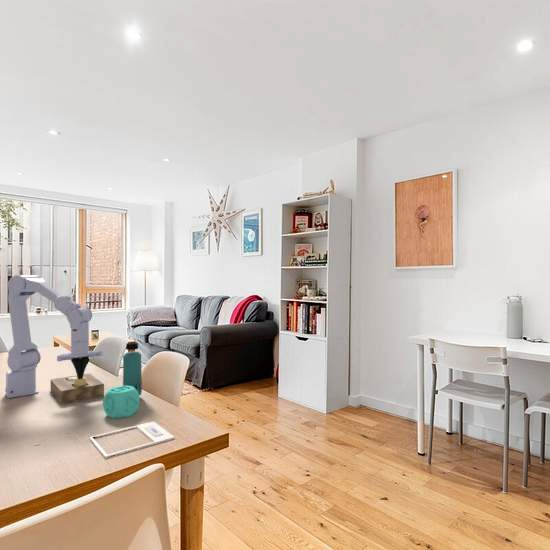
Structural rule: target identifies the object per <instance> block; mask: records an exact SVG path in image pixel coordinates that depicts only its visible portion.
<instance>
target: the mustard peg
mask: <svg viewBox="0 0 550 550" xmlns="http://www.w3.org/2000/svg"><path fill="white" fill-rule="evenodd" d="M85 385H86V377H83V379H78V378H74V387H79V386H85Z"/></svg>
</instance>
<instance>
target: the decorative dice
mask: <svg viewBox="0 0 550 550" xmlns="http://www.w3.org/2000/svg"><path fill="white" fill-rule="evenodd" d="M140 399H141V398H140V395H139V394H138V392H137V390H136V389H135V388H134V387H132V386H123V385H119V386H118V385H117V386H115V387H110V388H109V389H108V390H107V391H106V392H105V393H104V396H103V399H102V408H103V411H104V413H105V414H106V415H107V417H108V418H110V417H111V418H110V419H124V418H123V417H125V418H128V416H129V417H131V416H133V415H134V414H135V413H136V412H137V410H138V408H139V406H140V401H141V400H140Z"/></svg>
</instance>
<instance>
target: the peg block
mask: <svg viewBox="0 0 550 550" xmlns="http://www.w3.org/2000/svg"><path fill="white" fill-rule="evenodd" d="M71 377H77V375H71V376H64V377H59V378H51V379H50V392H51V394H52V393H53V394H52V395H53V396H54V398H56V400H57V401H58V402H59V403H60V405H63V404H69V403H74V402H80V401H86V400H90V399H91V400H92V399H95V398H101V396H102V397H104V396H105V383H103V382H102V381H101V380H100V379H98V378H97V377H95V376H94V375H92V373H84V375H83V377H86V385H85V386H79V387H74V380H73V381H68V378H71Z"/></svg>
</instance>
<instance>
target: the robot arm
mask: <svg viewBox="0 0 550 550" xmlns="http://www.w3.org/2000/svg"><path fill="white" fill-rule="evenodd" d="M7 289H8V294H7V301H8V308H9V315H10V322H11V323H10V324H11V331H12V338H13V346H12V347H11V348H10V349H9V350H8V357H7V361H6V362H7V366H8V368H9V369H10V371H9V370H8V371H6V372H5V389H4V391H5V392H4V393H5V394H6V396H7V398H8V399H11V398H17V397H22V396H29V395H34V394H39V391H38V389H37V386H36V385H37V384H36V383H37V382H36V381H37V379H36V377H37V375H36V374H37V368H38V364H40V363H41V358H42V356H41V353H40V352H39V349H38V345H36V344H35V343H34V342H33V341H32V338H31V336H32V335H31V330H30V322H29V313H28V307H27V300H28V299H29V298H30V297H31V296H33V295H34V294H36V293H38V294H40V295H41V296H43V297H44V298H46V299H47V300H48V301H50V302H52V303H53V308H54V309H56V310H57V311H59V312H60V313H61V314H63V315H64V316H65V317H66V320H67V322H68V323H69V329H70V352H69V353H63V354H57V355H56V361H57V362H62V361H71V363H72V365H73V367H74V370H75V373H76V376H77V378H78V379H83V375H84V374H85V371H86V369H87V366H88V364H89V362H90V358H93V357H103V351H102V350H101V349H97V350H90V347H89V345H90V341H89V340H90V339H89V338H90V335H89V333H90V332H89V331H90V330H89V329H90V328H89V327H90V325H89V324H90V321H91V320H92V317H93V312H92V311H91V309H90V308H89V307H88V306H82V305H81V304H80V303H77V302H76V301H75V300H73V299H72V297H71V296H70V295H66V294H65V295H61V294H60V293H59V292H57V291H56V290H55V289H54V288H53V287H52V286H50V285H49V284H48V283H47V282H46V280H45V279H44V278H42V277H41V276H39V275H38V274H32V275H27V274H26V275H20V274H19V275H18V274H16V275H13V276H12V277H11V278H10V279H9V280H8V281H7Z"/></svg>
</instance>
